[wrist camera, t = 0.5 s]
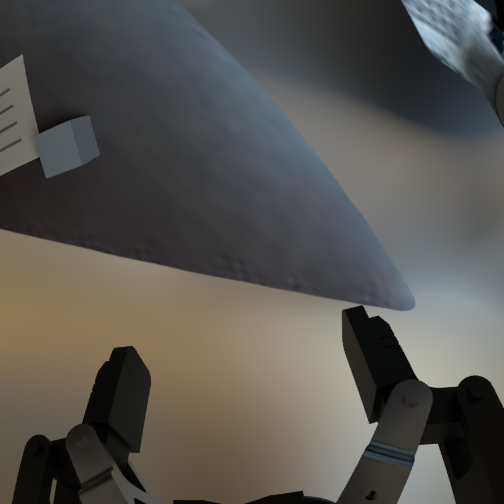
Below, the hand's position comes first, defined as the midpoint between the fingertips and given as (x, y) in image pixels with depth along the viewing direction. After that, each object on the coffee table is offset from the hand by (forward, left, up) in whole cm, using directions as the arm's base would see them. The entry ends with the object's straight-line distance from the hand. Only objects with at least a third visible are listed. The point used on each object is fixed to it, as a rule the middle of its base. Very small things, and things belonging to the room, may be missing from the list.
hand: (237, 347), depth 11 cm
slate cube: (-8, -17, -27) cm, 33 cm away
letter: (-15, -31, -27) cm, 44 cm away
